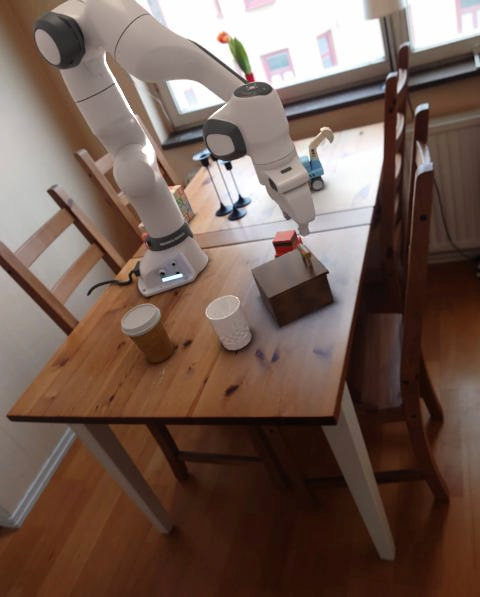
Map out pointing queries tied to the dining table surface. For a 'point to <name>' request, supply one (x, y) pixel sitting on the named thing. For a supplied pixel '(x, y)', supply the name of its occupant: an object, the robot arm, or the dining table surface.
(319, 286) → the toy chest
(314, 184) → the toy excavator
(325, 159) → the dining table surface
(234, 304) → the white cup
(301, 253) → the chest lid
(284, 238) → the red stepped block
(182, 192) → the printed cardboard box
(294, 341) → the dining table surface
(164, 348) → the disposable coffee cup
